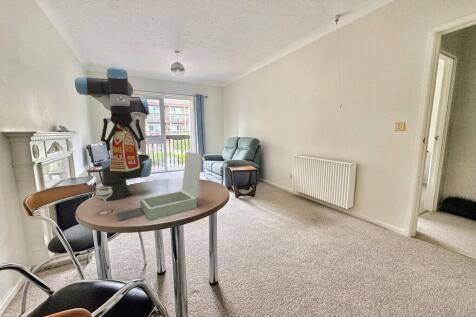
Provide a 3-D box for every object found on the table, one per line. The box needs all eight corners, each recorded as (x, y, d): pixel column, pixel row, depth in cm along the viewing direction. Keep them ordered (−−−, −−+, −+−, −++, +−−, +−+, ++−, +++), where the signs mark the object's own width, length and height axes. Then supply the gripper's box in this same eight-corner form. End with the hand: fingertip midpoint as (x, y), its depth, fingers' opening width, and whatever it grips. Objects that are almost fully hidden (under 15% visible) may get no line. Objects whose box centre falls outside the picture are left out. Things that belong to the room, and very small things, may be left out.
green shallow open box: (140, 208, 100) (139, 199, 99) (182, 199, 113) (182, 190, 112) (150, 220, 86) (149, 209, 85) (196, 208, 99) (196, 198, 98)
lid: (186, 151, 112) (188, 152, 113) (182, 190, 112) (184, 190, 113) (201, 154, 98) (203, 154, 99) (196, 198, 98) (198, 197, 99)
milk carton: (127, 171, 84) (122, 123, 82) (108, 170, 86) (104, 124, 84) (141, 167, 93) (138, 124, 91) (124, 167, 95) (120, 125, 92)
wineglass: (118, 209, 99) (115, 186, 97) (106, 215, 92) (104, 190, 90) (106, 209, 100) (103, 186, 98) (94, 214, 93) (91, 189, 92)
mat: (116, 214, 93) (116, 212, 93) (139, 208, 99) (139, 207, 99) (119, 221, 85) (119, 219, 85) (144, 215, 91) (144, 213, 91)
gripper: (89, 102, 77) (95, 160, 79) (149, 106, 90) (153, 155, 93) (88, 105, 82) (94, 158, 85) (145, 108, 96) (148, 154, 99)
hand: (125, 156), depth 89 cm, fingers closed on milk carton, 9 cm apart
